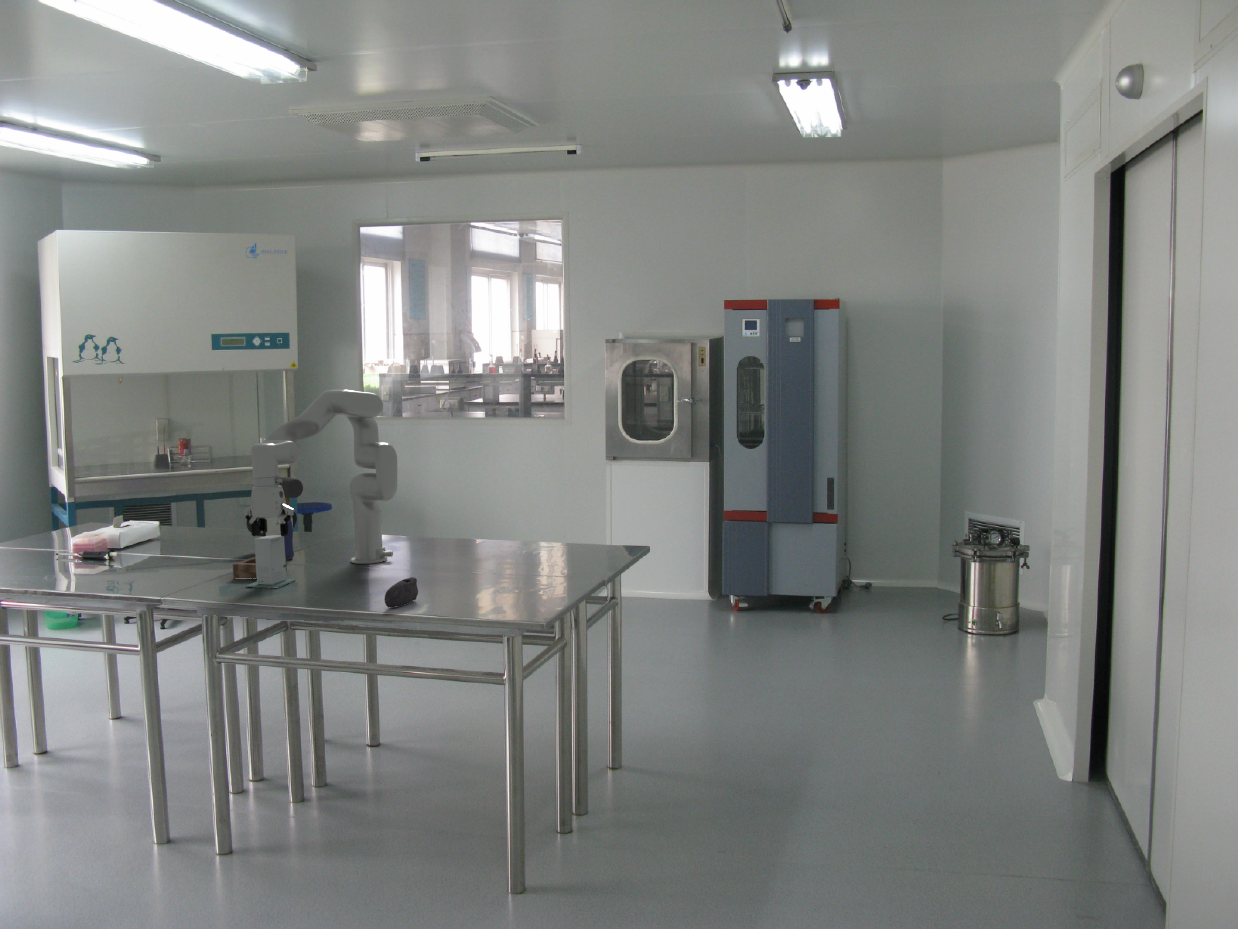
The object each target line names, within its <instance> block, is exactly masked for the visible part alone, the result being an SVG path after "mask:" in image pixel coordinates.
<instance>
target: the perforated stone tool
mask: <svg viewBox="0 0 1238 929" xmlns="http://www.w3.org/2000/svg"><path fill="white" fill-rule="evenodd" d="M417 583H418V579H417V578H416V577H408V578H405V579H402V580H399V581H398V582H396V583H394V584H392V586H390V587H389V588H388V589H387V590H386V592H385V594H384V603H385V606H386V607H387V608H389V607H395V606H400V607H402V606H401V605H403V606H405V605H404V604H406V605H408V604H407V603H409V602H410V603H412V602H414V601H416V600H417V596H418V594H419V588H418V584H417ZM413 600H414V601H413ZM410 603H409V604H410Z"/></svg>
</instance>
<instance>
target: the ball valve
mask: <svg viewBox="0 0 1238 929" xmlns="http://www.w3.org/2000/svg"><path fill="white" fill-rule="evenodd" d="M290 507H291V508H293V506H290ZM249 513H250V515H252V513H251V510H250V511H249ZM291 521H292V527H293V529H294V528H295V527H296V525H297V522H298V517H297V514H296V512H295V511H294V514H293V516H292V518H291ZM257 522H259V529H260V534H259V535H257V536H256V537H264V536H269V535H281V531H280V524H282V523H281V522H280V520H279V519H278V518H259V519H258V521H257ZM246 528H247V529H248V531H249V532H250V533H251V536H253V533H252V528H251V524H250V523H249V521H248V520H247V519H246Z"/></svg>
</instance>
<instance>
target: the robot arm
mask: <svg viewBox="0 0 1238 929" xmlns="http://www.w3.org/2000/svg"><path fill="white" fill-rule="evenodd" d="M383 409H384V404H383V399H382V398H381V397H380V396H379V395H378V394H377V393H373V392H366V391H365V392H364V391H357V390H351V389H327V390H324V391H323V392H322V393H320V394H319V395H318V396H317V397H316V398H315V399H314V400H313V401H312V403H310V405H308V407H307V408H306V409H305V410H304V411H303V412H302V413H300V414H299V415H297V416H296V417H294V418H292V419H290V420H288V421H286V422H285V423H284V424H281V425H280V426H278V427H277V428H275V429H273V431H272V432H271V433H270V434H269V435H268V436H267V437H266V438H265V439H264V440H263V441H262V442H259V443H254V444H252V445H251V453H250V454H251V464H252V466H251V467H252V478H253V487H251V493H250V494H251V495H250V504H249V506H247V507H245V508H243V509H242V514H243V515H244V516H245V519H246V521H247V520H248V521H249V523H250V524H251V528H252V533H253V535H252V536H253V537H258V536H257V535H259V534H260V529H259V522H257V521H258V519H259V518H278V519H279V520H280V522H281V523H282V524H280V531H281V536H286V535H288V522H289V520H290V519H291V518H292V516H293V514H294V512H295V511H296V509H294V508H293V507H292V506H290V507H289V506H287V505H286V501H285V496H284V491H283V488H282V486H280V485H279V483H282V479H280V478H279V477H280V476H279V468H278V465H279V464H280V465H285V464H286V465H291V464H294V463H296V462H298V461H299V460H300V459H301V457H302V454H303V449H302V447H301V444H299V443H298V441H300V440H304V439H307V438H308V439H309V438H311V437H314V436H317V435H318V434H320V433H321V432H322V431H323V430H324V429H325V428H326V427H327V426H328V424H329V423H330V422H332V421H333V419H334V418H335V417H336V416H341V415H342V416H345V417H346V418H347V420H348V421H349V423H350V424H351V426H352V429H353V460H354V464H355V465H356V466H357V467H358V468H361V469H363V470H364V469H366V470H375V472H359V473H356V474H355V475H353V476H352V478H351V479H350V481H349V486H348V488H349V492H350V493H349V494H350V496H351V501H352V508H353V509H352V510H353V533H354V556H353V557H351V558H350V562H351V563H352V564H357V565H358V564H359V565H360V564H361V565H370V564H377V563H382V562H383V561H384V562H386V561H387V560H388V557H389V558H390V557H391V558H392V557H393V556H394V552H393V550H386V547H384V546H383V532H382V530H383V528H382V525H383V524H382V510H381V507H380V503H379V502H380V501H382V502H384V501H385V502H386V501H387V502H388V501H390V500H392V499H393V498H394V497H395V495H396V493H397V490H398V454H397V452H396V449H395V447H394V446H393V445H392V444H391V443H389V442H381V441H380V440H379V427H378V423H377V421H376V419H375V418H376V417H378V416H380V415H381V413H382V412H383ZM378 501H379V502H378ZM291 507H292V508H291ZM250 510H251V513H252V515H250ZM287 511H288V515H287V516H286V514H287ZM384 562H383V563H384Z"/></svg>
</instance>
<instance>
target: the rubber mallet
mask: <svg viewBox="0 0 1238 929" xmlns="http://www.w3.org/2000/svg"><path fill="white" fill-rule="evenodd" d="M279 478H280V479H282V483H279V485H280V486H282V488H283V491H284V496H285V501H286V505H287V506H289V507H291V502H290V501H291V499H294V498H298V497H300V496H301V495H302V494H303V491H304V486H303V483H302V481H301V480H300V479H298V478H294V477H287V476H279ZM287 515H288V511H287V514H286V516H287ZM293 537H294V528H293V527H292V521H291V519H290V520H289V522H288V535H286V536H284V545H285V557H286V561H289V559H291V560H293V558H294V557H295V552H294V544H293V543H294V540H293Z"/></svg>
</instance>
